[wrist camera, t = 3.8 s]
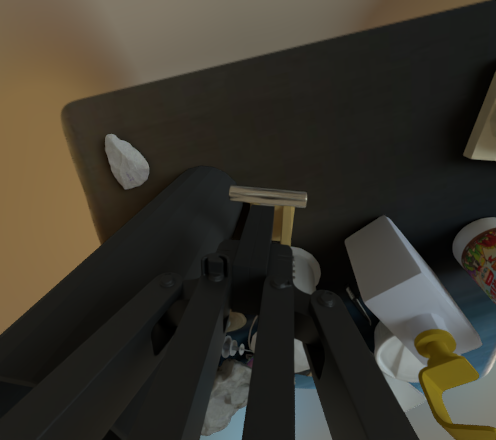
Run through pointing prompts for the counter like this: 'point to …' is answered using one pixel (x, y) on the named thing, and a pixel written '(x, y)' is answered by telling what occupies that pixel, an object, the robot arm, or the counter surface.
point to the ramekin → (395, 356)
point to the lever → (268, 196)
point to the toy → (230, 346)
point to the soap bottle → (417, 315)
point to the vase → (119, 283)
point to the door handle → (404, 392)
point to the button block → (484, 129)
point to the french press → (305, 280)
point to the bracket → (282, 224)
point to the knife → (357, 303)
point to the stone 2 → (227, 395)
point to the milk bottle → (478, 253)
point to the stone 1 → (126, 162)
